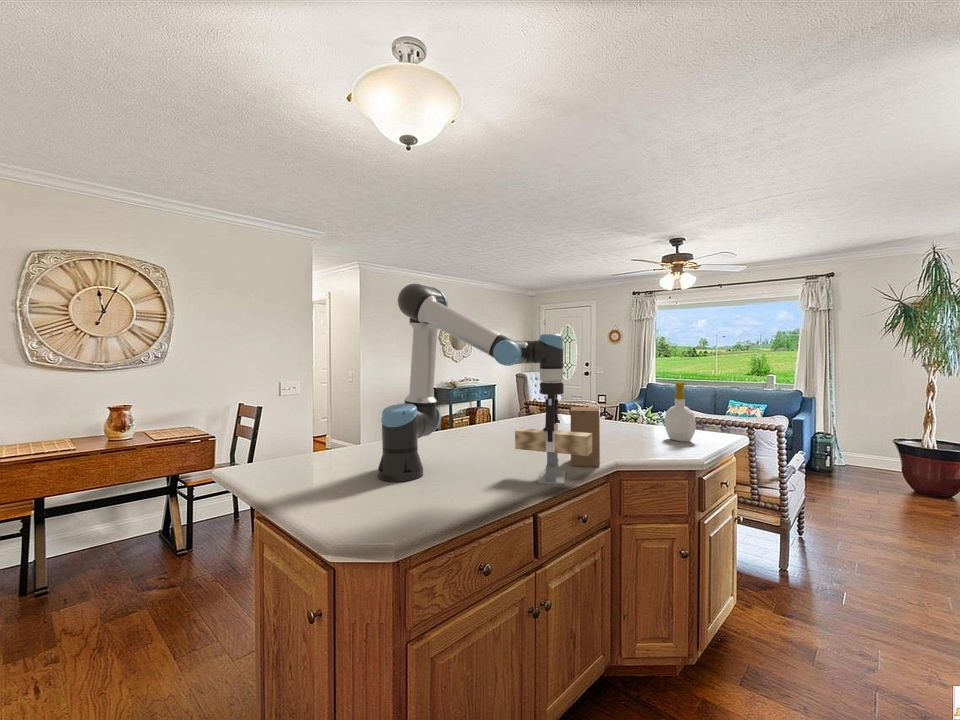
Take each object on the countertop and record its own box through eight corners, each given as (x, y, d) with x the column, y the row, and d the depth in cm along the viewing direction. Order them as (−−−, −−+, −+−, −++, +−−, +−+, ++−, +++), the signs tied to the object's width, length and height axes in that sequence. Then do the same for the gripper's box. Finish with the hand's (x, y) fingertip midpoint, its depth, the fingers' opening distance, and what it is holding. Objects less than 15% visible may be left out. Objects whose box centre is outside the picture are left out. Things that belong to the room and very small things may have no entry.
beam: (515, 448, 151) (515, 430, 151) (522, 445, 157) (521, 427, 157) (587, 456, 140) (587, 436, 140) (592, 451, 146) (592, 433, 146)
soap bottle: (701, 441, 201) (701, 382, 200) (689, 444, 196) (689, 383, 196) (672, 436, 213) (672, 380, 213) (660, 438, 209) (660, 381, 208)
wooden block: (599, 467, 161) (599, 410, 160) (570, 466, 163) (570, 410, 162) (598, 460, 171) (598, 407, 170) (571, 459, 173) (570, 406, 172)
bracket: (537, 483, 143) (537, 454, 143) (542, 471, 157) (542, 445, 156) (563, 484, 141) (563, 455, 141) (566, 472, 155) (565, 446, 155)
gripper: (560, 385, 135) (561, 456, 136) (565, 379, 159) (566, 439, 160) (535, 384, 137) (536, 455, 137) (543, 379, 161) (544, 439, 162)
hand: (552, 447), depth 149 cm, fingers open, 13 cm apart
